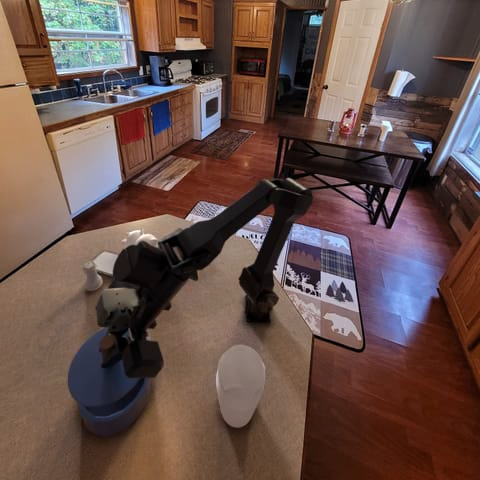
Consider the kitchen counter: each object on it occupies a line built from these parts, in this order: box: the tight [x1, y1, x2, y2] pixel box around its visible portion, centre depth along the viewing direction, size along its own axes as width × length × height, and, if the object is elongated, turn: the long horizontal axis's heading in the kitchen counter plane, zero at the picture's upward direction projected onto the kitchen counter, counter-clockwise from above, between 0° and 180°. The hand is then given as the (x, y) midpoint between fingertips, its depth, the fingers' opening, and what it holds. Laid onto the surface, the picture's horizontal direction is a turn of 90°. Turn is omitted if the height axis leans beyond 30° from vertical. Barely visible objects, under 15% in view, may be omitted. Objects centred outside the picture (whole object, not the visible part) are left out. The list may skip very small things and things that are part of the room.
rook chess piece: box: [83, 260, 103, 292], centre depth 72 cm, size 4×4×8 cm
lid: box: [67, 327, 140, 407], centre depth 46 cm, size 14×14×6 cm
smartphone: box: [92, 251, 119, 278], centre depth 79 cm, size 7×1×15 cm
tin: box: [76, 378, 153, 437], centre depth 50 cm, size 13×13×5 cm
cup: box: [215, 344, 266, 429], centre depth 48 cm, size 9×9×12 cm
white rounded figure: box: [121, 228, 158, 248], centre depth 85 cm, size 9×11×12 cm
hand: (102, 358), depth 45 cm, fingers closed on lid, 3 cm apart
